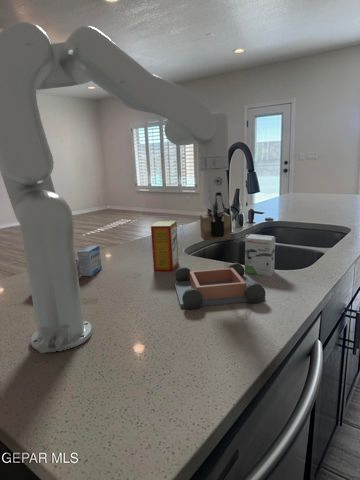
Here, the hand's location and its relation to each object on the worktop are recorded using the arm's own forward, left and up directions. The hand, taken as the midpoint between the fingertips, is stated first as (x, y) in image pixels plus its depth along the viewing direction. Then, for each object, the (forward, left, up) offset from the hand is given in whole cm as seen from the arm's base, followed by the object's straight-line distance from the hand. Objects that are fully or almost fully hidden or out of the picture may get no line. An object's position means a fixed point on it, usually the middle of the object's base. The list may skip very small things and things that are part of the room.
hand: (215, 233), depth 89 cm
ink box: (+13, -17, -17) cm, 27 cm away
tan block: (0, 0, -1) cm, 1 cm away
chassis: (0, 0, -17) cm, 17 cm away
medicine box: (+27, +38, -17) cm, 50 cm away
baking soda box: (+26, +12, -17) cm, 33 cm away
